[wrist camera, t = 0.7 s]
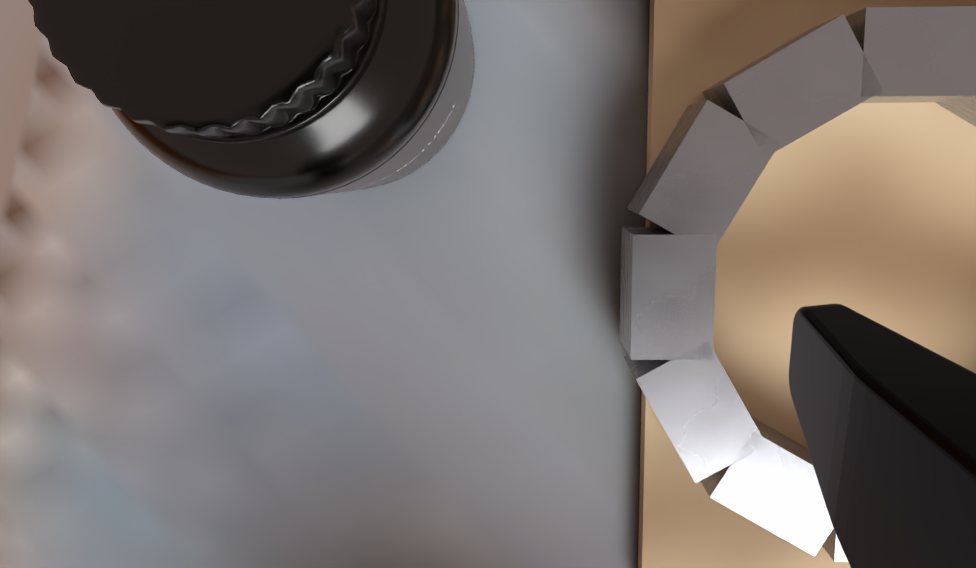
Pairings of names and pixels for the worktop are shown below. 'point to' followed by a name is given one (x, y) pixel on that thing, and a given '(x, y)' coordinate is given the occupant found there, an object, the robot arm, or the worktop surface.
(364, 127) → the supplement bottle
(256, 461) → the worktop surface
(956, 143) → the oak board
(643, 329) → the steel ring
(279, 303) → the worktop surface
